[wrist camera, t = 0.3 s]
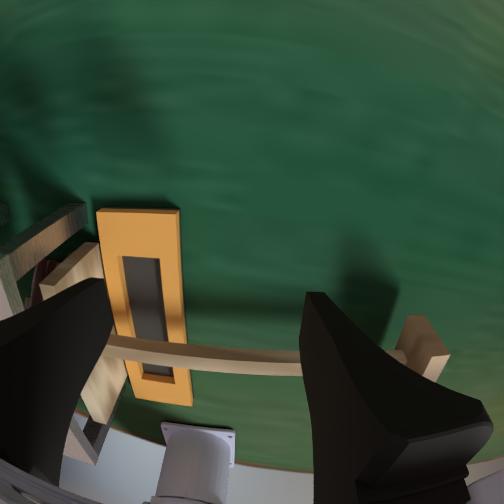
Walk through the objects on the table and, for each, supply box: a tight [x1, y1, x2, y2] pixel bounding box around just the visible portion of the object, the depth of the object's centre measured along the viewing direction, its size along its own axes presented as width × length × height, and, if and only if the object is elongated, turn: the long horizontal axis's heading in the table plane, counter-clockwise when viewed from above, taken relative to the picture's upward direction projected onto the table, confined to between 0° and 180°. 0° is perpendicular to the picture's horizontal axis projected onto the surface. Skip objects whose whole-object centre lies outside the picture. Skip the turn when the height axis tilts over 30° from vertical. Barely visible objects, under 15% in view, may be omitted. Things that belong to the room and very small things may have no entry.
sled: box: [39, 242, 450, 425], centre depth 20 cm, size 13×25×6 cm, turn 87°
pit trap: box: [96, 207, 194, 406], centre depth 23 cm, size 18×6×1 cm, turn 177°
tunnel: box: [0, 203, 126, 465], centre depth 19 cm, size 19×10×10 cm, turn 177°
